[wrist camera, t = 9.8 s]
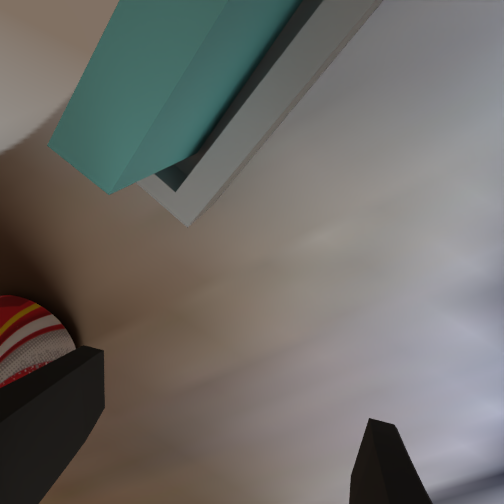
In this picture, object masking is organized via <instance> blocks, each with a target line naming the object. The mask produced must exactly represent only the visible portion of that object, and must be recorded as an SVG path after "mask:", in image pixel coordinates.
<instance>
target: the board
mask: <svg viewBox="0 0 504 504" xmlns="http://www.w3.org/2000/svg"><path fill="white" fill-rule="evenodd" d="M302 1H303V0H120V1H119V2H118V5H117V7H116V9H115V11H114V13H113V15H112V17H111V19H110V21H109V23H108V25H107V27H106V29H105V31H104V33H103V35H102V37H101V39H100V41H99V43H98V45H97V47H96V49H95V51H94V53H93V55H92V57H91V59H90V61H89V63H88V65H87V67H86V69H85V71H84V73H83V75H82V77H81V79H80V81H79V83H78V85H77V87H76V89H75V91H74V93H73V95H72V97H71V99H70V101H69V103H68V105H67V107H66V109H65V111H64V113H63V115H62V117H61V119H60V121H59V123H58V125H57V127H56V129H55V131H54V133H53V135H52V137H51V139H50V141H49V143H48V145H47V146H48V147H50V148H51V149H52V150H53V151H55V152H56V153H57V154H58V155H60V156H61V157H62V158H63V159H65V160H66V161H67V162H68V163H70V164H71V165H72V166H73V167H75V168H76V169H77V170H78V171H80V172H81V173H82V174H83V175H85V176H86V177H87V178H88V179H90V180H91V181H92V182H93V183H95V184H96V185H97V186H98V187H100V188H101V189H102V190H103V191H105V192H106V193H107V194H108V195H110V194H112V193H114V192H116V191H118V190H120V189H122V188H125V187H127V186H129V185H131V184H133V183H135V182H137V181H139V180H141V179H144V178H146V177H148V176H150V175H152V174H154V173H156V172H158V171H160V170H163V169H165V168H167V167H169V166H171V165H173V164H175V163H177V162H180V161H182V160H184V159H186V158H188V157H190V156H192V155H194V154H196V153H198V151H199V150H200V148H201V147H202V145H203V144H204V142H205V141H206V140H207V138H208V137H209V135H210V134H211V132H212V131H213V130H214V128H215V127H216V125H217V124H218V122H219V121H220V119H221V118H222V117H223V115H224V114H225V112H226V111H227V109H228V108H229V106H230V105H231V104H232V102H233V101H234V99H235V98H236V96H237V95H238V93H239V92H240V91H241V89H242V88H243V86H244V85H245V83H246V82H247V80H248V79H249V78H250V76H251V75H252V73H253V72H254V70H255V69H256V67H257V66H258V65H259V63H260V62H261V60H262V59H263V57H264V56H265V54H266V53H267V52H268V50H269V49H270V47H271V46H272V44H273V43H274V41H275V40H276V39H277V37H278V36H279V34H280V33H281V31H282V30H283V28H284V27H285V26H286V24H287V23H288V21H289V20H290V18H291V17H292V15H293V14H294V13H295V11H296V10H297V8H298V7H299V5H300V4H301V3H302Z"/></svg>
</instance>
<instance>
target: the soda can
mask: <svg viewBox="0 0 504 504" xmlns="http://www.w3.org/2000/svg"><path fill="white" fill-rule="evenodd" d="M75 349H76V348H75V345H74V343H73V340H72V338H71V336H70V335H69V333H68V332H67V330H66V328H65V327H64V326H63V325H62V324H61V322H60V321H59V320H58V319H57V318H56V317H55V316H54V315H53V314H52V313H50V312H49V311H48V310H46V309H45V308H43V307H42V306H40V305H38V304H37V303H35V302H33V301H30V300H28V299H25V298H22V297H18V296H11V295H1V296H0V388H1V387H3V386H5V385H7V384H9V383H11V382H13V381H15V380H17V379H19V378H21V377H23V376H25V375H27V374H29V373H31V372H33V371H35V370H37V369H39V368H40V367H42V366H44V365H46V364H48V363H50V362H52V361H54V360H56V359H57V358H59V357H61V356H63V355H65V354H67V353H69V352H71V351H73V350H75Z"/></svg>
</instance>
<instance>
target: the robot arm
mask: <svg viewBox="0 0 504 504" xmlns="http://www.w3.org/2000/svg"><path fill="white" fill-rule="evenodd" d="M104 408H105V397H104V350H100V349H96V348H92V347H88V346H84V345H83V346H81V347H79V348H77V349H75V350H73V351H71V352H69V353H67V354H65V355H63V356H61V357H59V358H57V359H56V360H54V361H52V362H50V363H48V364H46V365H44V366H42V367H40V368H39V369H37V370H35V371H33V372H31V373H29V374H27V375H25V376H23V377H21V378H19V379H17V380H15V381H13V382H11V383H9V384H7V385H5V386H3V387H1V388H0V504H39V502H40V501H41V500H42V498H43V497H44V496H45V495H46V493H47V492H48V491H49V489H50V488H51V487H52V485H53V484H54V483H55V481H56V480H57V479H58V477H59V476H60V475H61V473H62V472H63V471H64V469H65V468H66V467H67V465H68V464H69V463H70V461H71V460H72V459H73V457H74V456H75V455H76V453H77V452H78V451H79V449H80V448H81V446H82V445H83V444H84V442H85V441H86V439H87V437H88V436H89V434H90V432H91V431H92V429H93V427H94V426H95V424H96V422H97V420H98V419H99V417H100V415H101V413H102V412H103V410H104ZM349 504H433V503H432V501H431V500H430V498H429V496H428V494H427V492H426V490H425V488H424V486H423V484H422V482H421V480H420V478H419V476H418V474H417V472H416V470H415V468H414V465H413V463H412V461H411V459H410V457H409V455H408V452H407V450H406V448H405V446H404V444H403V441H402V439H401V437H400V434H399V432H398V430H397V428H396V427H395V425H394V424H390V423H386V422H382V421H378V420H374V419H371V418H369V420H368V423H367V427H366V430H365V433H364V436H363V439H362V442H361V446H360V449H359V452H358V455H357V458H356V461H355V465H354V468H353V471H352V474H351V483H350V499H349Z"/></svg>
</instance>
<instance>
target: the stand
mask: <svg viewBox="0 0 504 504" xmlns="http://www.w3.org/2000/svg"><path fill="white" fill-rule="evenodd" d="M382 1H383V0H303V1H302V3H301V4H300V5H299V7H298V8H297V10H296V11H295V13H294V14H293V15H292V17H291V18H290V20H289V21H288V23H287V24H286V26H285V27H284V28H283V30H282V31H281V33H280V34H279V36H278V37H277V39H276V40H275V41H274V43H273V44H272V46H271V47H270V49H269V50H268V52H267V53H266V54H265V56H264V57H263V59H262V60H261V62H260V63H259V65H258V66H257V67H256V69H255V70H254V72H253V73H252V75H251V76H250V78H249V79H248V80H247V82H246V83H245V85H244V86H243V88H242V89H241V91H240V92H239V93H238V95H237V96H236V98H235V99H234V101H233V102H232V104H231V105H230V106H229V108H228V109H227V111H226V112H225V114H224V115H223V117H222V118H221V119H220V121H219V122H218V124H217V125H216V127H215V128H214V130H213V131H212V132H211V134H210V135H209V137H208V138H207V140H206V141H205V142H204V144H203V145H202V147H201V148H200V150H199V151H198V153H196V154H194V155H192V156H190V157H188V158H186V159H184V160H182V161H180V162H177V163H175V164H173V165H171V166H169V167H167V168H165V169H163V170H160V171H158V172H156V173H154V174H152V175H150V176H148V177H146V178H144V179H141V180H139V181H137V182H136V183H137V184H138V185H139V186H140V187H141V188H143V189H144V190H145V191H146V192H147V193H148V194H149V195H151V196H152V197H153V198H154V199H155V200H156V201H157V202H159V203H160V204H161V205H162V206H163V207H164V208H166V209H167V210H168V211H169V212H170V213H171V214H172V215H174V216H175V217H176V218H177V219H178V220H179V221H181V222H182V223H183V224H184V225H185V226H186V227H187V228H188V227H189V226H190V225H191V224H192V223H193V222H194V221H196V220H197V219H198V218H199V217H200V216H201V215H202V214H203V213H204V212H206V211H207V210H208V209H209V208H210V207H211V206H212V205H213V204H214V202H215V201H216V200H217V199H218V198H219V196H220V195H221V194H222V193H223V192H224V190H225V189H226V188H227V187H228V186H229V184H230V183H231V182H232V181H233V180H234V178H235V177H236V176H237V175H238V174H239V172H240V171H241V170H242V169H243V168H244V166H245V165H246V164H247V163H248V162H249V160H250V159H251V158H252V157H253V156H254V154H255V153H256V152H257V151H258V150H259V148H260V147H261V146H262V145H263V144H264V142H265V141H266V140H267V139H268V138H269V136H270V135H271V134H272V133H273V132H274V130H275V129H276V128H277V127H278V126H279V124H280V123H281V122H282V121H283V120H284V118H285V117H286V116H287V115H288V114H289V112H290V111H291V110H292V109H293V108H294V107H295V105H296V104H297V103H298V102H299V101H300V99H301V98H302V97H303V96H304V95H305V93H306V92H307V91H308V90H309V89H310V87H311V86H312V85H313V84H314V83H315V81H316V80H317V79H318V78H319V77H320V75H321V74H322V73H323V72H324V71H325V69H326V68H327V67H328V66H329V65H330V63H331V62H332V61H333V60H334V59H335V57H336V56H337V55H338V54H339V53H340V51H341V50H342V49H343V48H344V47H345V45H346V44H347V43H348V42H349V41H350V39H351V38H352V37H353V36H354V35H355V33H356V32H357V31H358V30H359V29H360V27H361V26H362V25H363V24H364V23H365V21H366V20H367V19H368V18H369V17H370V15H371V14H372V13H373V12H374V11H375V9H376V8H377V7H378V6H379V5H380V4H381V2H382Z"/></svg>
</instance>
